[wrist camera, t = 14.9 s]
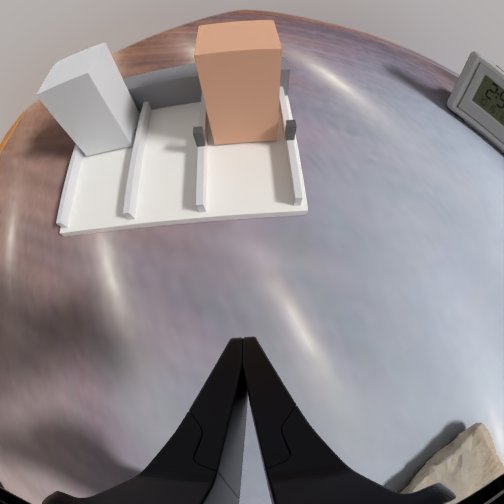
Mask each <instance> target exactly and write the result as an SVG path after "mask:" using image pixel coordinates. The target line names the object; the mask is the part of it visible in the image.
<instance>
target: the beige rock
mask: <svg viewBox="0 0 504 504" xmlns="http://www.w3.org/2000/svg"><path fill="white" fill-rule="evenodd" d="M503 473H504V466H503V464H502V462H501V461H500V459H499V457H498V455H497V453H496V450H495V447H494V444H493V441H492V438H491V435H490V433H489V431H488V429H487V428H486V427H485V425H484V424H483V423H475V424H474V425H472V426H471V427H469V428H468V429H466V430H465V431H463V432H461V433H459V435H458V436H457V437H456V438H455V439H454V440H453V441H452V442H451V443H450V444H448V445H446V446H445V447H443V448H442V449H440V450H439V451H437V452H436V453H435V454H434V455H433V456H432V457H431V458H430V459H429V460H428V461H426V463H425V465H424V466H423V467H422V468H421V469H420V470H419V472H418V473H417V474H416V475H415V476H414V478H413V479H412V480H411V482H410V483H409V485H408V486H406V487H405V488H404V489H403V490H402V491H401V492H400V493H404V494H406V493H413V492H416V491H419V490H421V489H423V488H426V487H428V486H430V485H433V484H436V483H442V484H443V485H444V486H446V487H447V488H449V489H450V490H451V491H452V492H453V493H454V494H455V496H456V498H455V499H454V500H452V501H450V502H448V503H446V504H455V503H457V502H459V501H461V500H463V499H464V498H466V497H468V496H469V495H471V494H473V493H474V492H476V491H477V490H479V489H481V488H482V487H484V486H485V485H487V484H488V483H490V482H491V481H493V480H494V479H496V478H497V477H499V476H500V475H502V474H503Z"/></svg>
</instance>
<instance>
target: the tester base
mask: <svg viewBox="0 0 504 504" xmlns="http://www.w3.org/2000/svg"><path fill="white" fill-rule="evenodd" d="M289 73H290V69H289V65H288V61H287V57H281V75H280V94H279V111H278V128H277V141H259V142H244V143H231V144H220V145H215V143H214V139H213V135H212V131H211V127H210V123H209V118H208V114H207V110H206V106H205V101H204V97H203V93H202V89H201V84H200V80H199V76H198V71H197V67H196V64H189V65H183V66H178V67H172V68H167V69H162V70H157V71H153V72H148V73H144V74H140V75H136V76H132V77H128V78H124V79H123V81H124V83H125V85H126V87H127V89H128V91H129V93H130V95H131V97H132V99H133V101H134V103H135V105H136V107H137V109H138V111H139V113H140V114H139V118H138V122H137V126H136V131H135V135H134V140H133V145H132V146H130V147H125V148H120V149H115V150H111V151H107V152H102V153H98V154H94V155H90V156H86V155H85V153H84V152H83V151H82V150H81V149H80V148H79V147H78V145H77V144H75V147H74V150H73V154H72V157H71V161H70V164H69V168H68V171H67V175H66V179H65V183H64V187H63V192H62V196H61V201H60V206H59V211H58V216H57V221H56V224H58V225H60V226H61V227H60V234H61V235H63V236H73V235H81V234H89V233H97V232H106V231H115V230H124V229H133V228H143V227H153V226H163V225H174V224H185V223H196V222H209V221H221V220H235V219H249V218H264V217H280V216H298V215H307V212H308V207H307V200H306V194H305V187H304V181H303V175H302V169H301V163H300V157H299V151H298V146H297V140H296V135H295V133H296V122H295V120H292V115H291V110H290V105H289V100H288V85H289Z"/></svg>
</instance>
